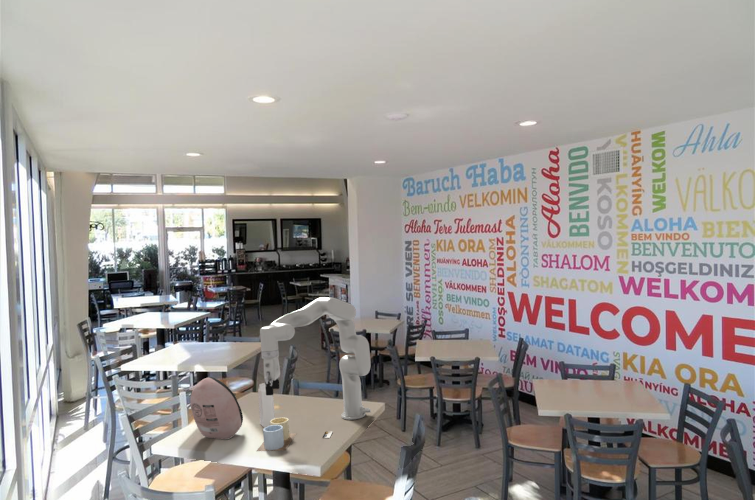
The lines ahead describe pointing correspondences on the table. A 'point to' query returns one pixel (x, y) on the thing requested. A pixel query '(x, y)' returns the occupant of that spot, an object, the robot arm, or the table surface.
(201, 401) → the packaged food
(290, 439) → the tube board
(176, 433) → the table surface
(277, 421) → the tube
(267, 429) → the tube blue
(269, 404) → the milk
